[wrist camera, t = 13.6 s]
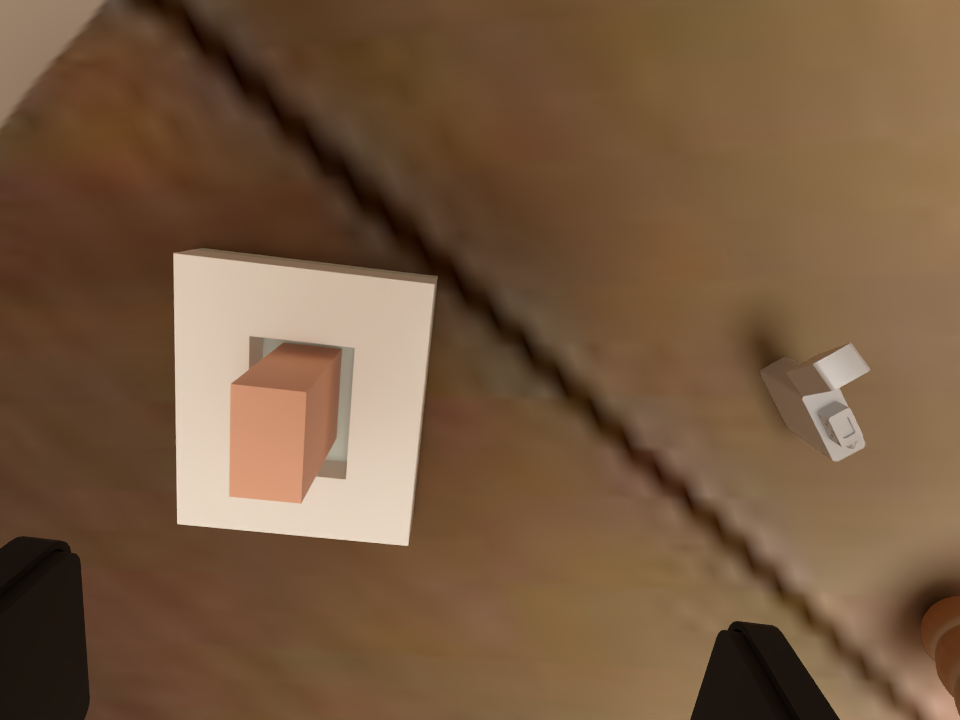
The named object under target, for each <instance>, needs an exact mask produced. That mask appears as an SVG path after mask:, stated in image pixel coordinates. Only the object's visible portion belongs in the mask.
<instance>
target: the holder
mask: <svg viewBox="0 0 960 720" xmlns="http://www.w3.org/2000/svg"><path fill="white" fill-rule="evenodd" d="M173 254H174V325H175V396H176V467H177V524H182V525H193V526H203V527H214V528H224V529H235V530H246V531H256V532H267V533H277V534H288V535H298V536H309V537H319V538H330V539H341V540H351V541H362V542H372V543H383V544H393V545H404V546H408V543H409V537H410V531H411V525H412V519H413V511H414V501H415V492H416V482H417V472H418V463H419V453H420V443H421V434H422V424H423V414H424V405H425V395H426V385H427V376H428V366H429V356H430V347H431V337H432V328H433V318H434V308H435V299H436V289H437V279H438V276H432V275H424V274H416V273H407V272H399V271H391V270H382V269H374V268H365V267H357V266H349V265H340V264H332V263H324V262H315V261H307V260H299V259H290V258H282V257H274V256H265V255H257V254H249V253H240V252H232V251H223V250H215V249H207V248H199V249H194V250H188V251H183V252H178V253H173ZM283 342H284V343H293V344H302V345H311V346H320V347H328V348H337V349H342V359H341V375H340V391H339V406H338V422H337V438H336V440H335V442H334V444H333V446H332V448H331V450H330V451H329V453H328V455H327V457H326V459H325V461H324V462H323V464H322V466H321V468H320V470H319V472H318V474H317V475H316V477H315V479H314V481H313V483H312V485H311V486H310V488H309V490H308V492H307V494H306V496H305V498H304V499H303V501H302V503H301V504H300V503H289V502H279V501H269V500H259V499H248V498H238V497H229V473H230V390H231V383H232V382H234V381H235V380H236V379H238V378H239V377H240V376H241V375H243V374H244V373H245V372H246V371H248V370H249V369H250V368H252V367H253V366H254V365H255V364H257V363H258V362H259V361H260V360H262V359H263V358H264V357H265V356H267V355H268V354H269V353H271V352H272V351H273V350H274V349H276V348H277V347H278V346H279V345H281V344H282V343H283Z"/></svg>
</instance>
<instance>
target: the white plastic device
mask: <svg viewBox="0 0 960 720" xmlns="http://www.w3.org/2000/svg"><path fill="white" fill-rule="evenodd" d="M870 370H871V369H870V368H869V367H868V365H867V364H866V362H865V361H864V360H863V358H862V357H861V356H860V354H859V353H858V351H857V350H856V349H855V347H854V346H853V345H852V343H848V344H846V345H843V346H840V347H838V348H835V349H832V350H829V351H827V352H824V353H821V354H819V355H817V356H815V357H813V358H811V359H809V360H808V361H806V362H804V363H802V364H801V363H799V362H797V361H794V360H792V359H790V358H788V357H782V358H781V359H779V360H777V361H775V362H774V363H772V364H770V365H768V366H766V367H765V368H763V369H761V371H760V376H761V378H762V379H763V381H764V383H765V385H766V387H767V389H768V391H769V393H770V395H771V397H772V399H773V401H774V403H775V405H776V407H777V409H778V411H779V413H780V415H781V417H782V419H783V421H784V423H785V424H786V426H787V428H788V429H789V430H791V431H792V432H793V433H795V434H796V435H798V436H799V437H800V438H802V439H803V440H805V441H806V442H807V443H809V444H810V445H812V446H813V447H814V448H816V449H817V450H819V451H820V452H821V453H823V454H824V455H826V456H827V457H828V458H830V459H831V460H833V461H837V462H838V461H840V460H842V459H843V458H845V457H847V456H849V455H851V454H853V453H855V452H857V451H858V450H860V449H862V448H864V446H865V441H864V439H863V434H862V432H861V430H860V428H859V426H858V424H857V422H856V420H855V417H854V415H853V413H852V411H851V409H850V408H849V407H848V406H847V403H846V401H845V399H844V397H843V395H842V393H841V391H840V389H839V387H841V386H843V385H845V384H847V383H849V382H850V381H852V380H854V379H856V378H858V377H860V376H861V375H863V374H865V373H867V372H869V371H870Z"/></svg>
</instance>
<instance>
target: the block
mask: <svg viewBox="0 0 960 720" xmlns="http://www.w3.org/2000/svg"><path fill="white" fill-rule="evenodd" d="M341 359H342V349H337V348H328V347H320V346H311V345H302V344H293V343H284V342H283V343H282V344H281V345H279V346H278V347H277V348H276V349H274V350H273V351H272V352H271V353H269V354H268V355H267V356H265V357H264V358H263V359H262V360H260V361H259V362H258V363H257V364H255V365H254V366H253V367H252V368H250V369H249V370H248V371H246V372H245V373H244V374H243V375H241V376H240V377H239V378H238V379H236V380H235V381H234V382H232V383H231V390H230V473H229V497H238V498H248V499H259V500H269V501H279V502H289V503H300V504H301V503H302V501H303V499H304V498H305V496H306V494H307V492H308V490H309V488H310V486H311V485H312V483H313V481H314V479H315V477H316V475H317V474H318V472H319V470H320V468H321V466H322V464H323V462H324V461H325V459H326V457H327V455H328V453H329V451H330V450H331V448H332V446H333V444H334V442H335V440H336V438H337V422H338V406H339V391H340V375H341Z"/></svg>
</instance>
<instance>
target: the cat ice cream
mask: <svg viewBox="0 0 960 720" xmlns="http://www.w3.org/2000/svg"><path fill="white" fill-rule="evenodd" d="M921 640H922V644H923V646H924V648H925V650H926V652H927V653H928V654H929V656H930V657H931V658H932V659H933V660H934V661H935V662H936V669H937V673H938V676H939V678H940V680H941V682H942V684H943V685H944V687H945V688H946V689H947V691H948V692H949V693H950V694H951V695H952V696H953V697H954V700H955V704H956V707H957V710H958V713H959V715H960V596H953V597H948V598H944V599H942V600H940V601H938V602H936V603H934V604H933V605H932V606H931V607H930V608H929V609H928V611H927V612H926V613H925V615H924V617H923V619H922V622H921Z"/></svg>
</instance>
